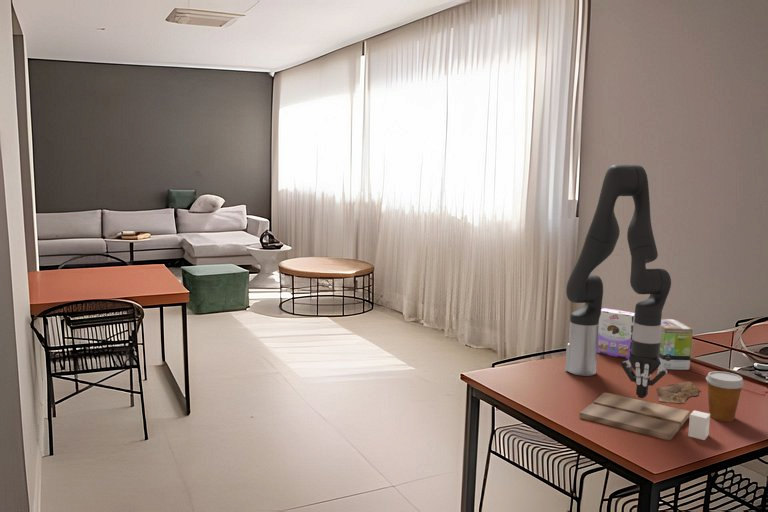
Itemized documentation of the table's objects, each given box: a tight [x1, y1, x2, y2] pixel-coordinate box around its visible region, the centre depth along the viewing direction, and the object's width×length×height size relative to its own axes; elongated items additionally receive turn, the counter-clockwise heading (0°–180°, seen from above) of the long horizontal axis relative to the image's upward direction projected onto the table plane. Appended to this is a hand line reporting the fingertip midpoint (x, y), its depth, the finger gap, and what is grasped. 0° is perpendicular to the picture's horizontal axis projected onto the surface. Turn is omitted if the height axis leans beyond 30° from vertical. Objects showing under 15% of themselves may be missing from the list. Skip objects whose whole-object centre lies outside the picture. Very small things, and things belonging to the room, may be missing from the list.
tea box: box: [659, 318, 694, 371], centre depth 236 cm, size 15×10×15 cm, turn 179°
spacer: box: [687, 409, 711, 441], centre depth 174 cm, size 4×4×6 cm
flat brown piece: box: [656, 380, 701, 405], centre depth 208 cm, size 26×11×1 cm, turn 135°
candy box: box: [597, 307, 635, 360], centre depth 246 cm, size 14×6×16 cm, turn 47°
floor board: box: [579, 403, 681, 441], centre depth 182 cm, size 24×10×2 cm, turn 52°
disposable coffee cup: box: [705, 370, 745, 422], centre depth 187 cm, size 10×10×12 cm
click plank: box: [592, 392, 691, 429], centre depth 190 cm, size 24×9×2 cm, turn 52°
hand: (641, 397), depth 191 cm, fingers closed
